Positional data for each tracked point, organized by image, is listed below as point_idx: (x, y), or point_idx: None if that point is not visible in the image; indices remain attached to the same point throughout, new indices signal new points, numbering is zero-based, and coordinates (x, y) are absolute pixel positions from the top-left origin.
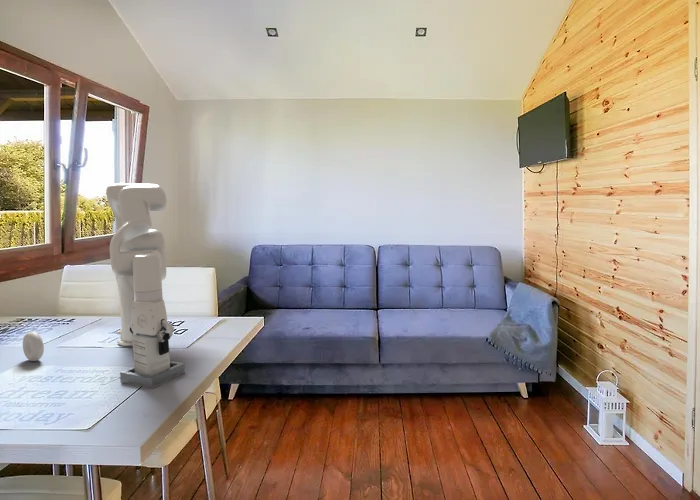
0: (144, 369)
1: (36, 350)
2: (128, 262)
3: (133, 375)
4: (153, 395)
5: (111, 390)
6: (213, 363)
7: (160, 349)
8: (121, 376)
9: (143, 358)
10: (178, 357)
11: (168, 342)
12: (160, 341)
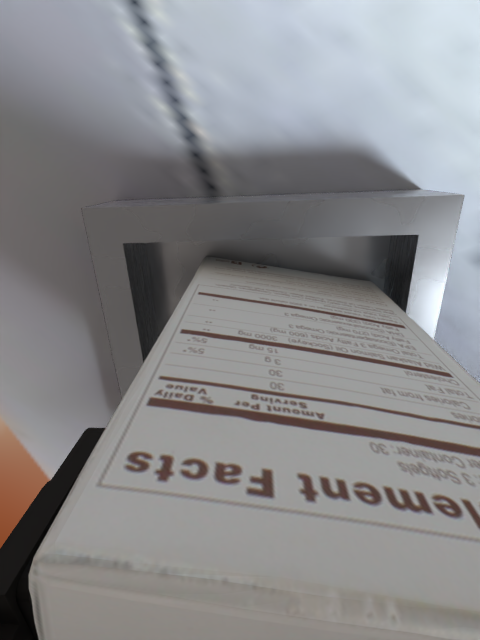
0: (244, 282)
1: None
2: None
3: (293, 199)
4: (7, 117)
5: (376, 38)
6: None
7: (52, 479)
8: (430, 192)
9: (245, 324)
10: None
11: None
12: (17, 618)
